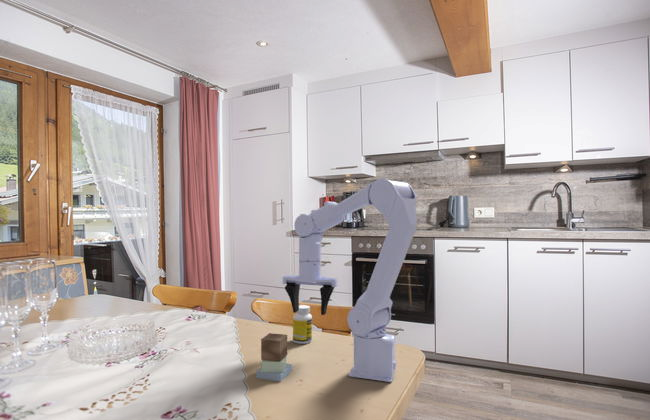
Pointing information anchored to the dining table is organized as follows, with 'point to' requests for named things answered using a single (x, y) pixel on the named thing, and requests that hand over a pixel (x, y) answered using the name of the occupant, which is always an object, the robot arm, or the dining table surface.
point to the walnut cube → (274, 347)
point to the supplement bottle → (302, 325)
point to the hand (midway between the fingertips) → (309, 312)
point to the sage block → (273, 365)
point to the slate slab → (274, 374)
